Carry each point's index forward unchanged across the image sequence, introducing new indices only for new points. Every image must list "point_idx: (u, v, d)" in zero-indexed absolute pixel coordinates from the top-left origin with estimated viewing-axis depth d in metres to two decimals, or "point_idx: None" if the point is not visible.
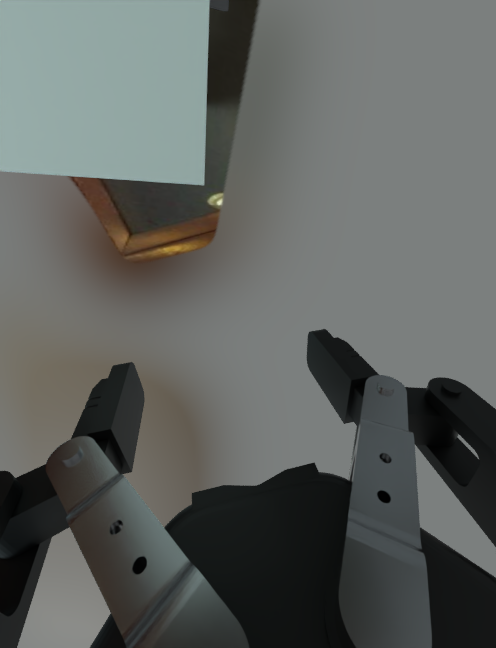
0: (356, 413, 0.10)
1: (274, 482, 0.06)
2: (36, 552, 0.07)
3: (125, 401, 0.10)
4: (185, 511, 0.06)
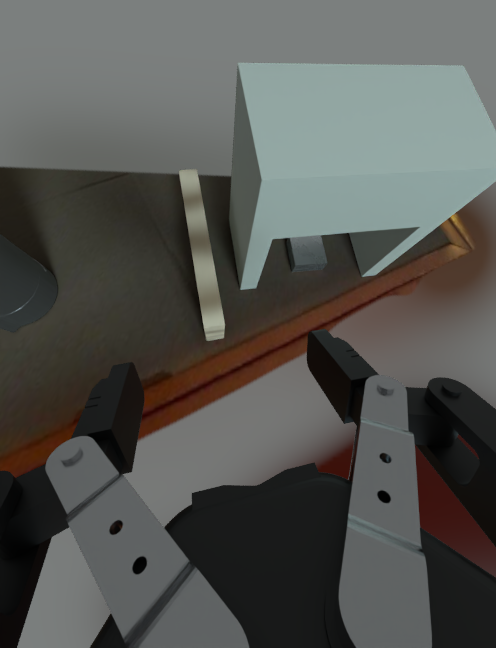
0: (356, 413, 0.10)
1: (275, 481, 0.06)
2: (36, 552, 0.07)
3: (125, 401, 0.10)
4: (185, 511, 0.06)
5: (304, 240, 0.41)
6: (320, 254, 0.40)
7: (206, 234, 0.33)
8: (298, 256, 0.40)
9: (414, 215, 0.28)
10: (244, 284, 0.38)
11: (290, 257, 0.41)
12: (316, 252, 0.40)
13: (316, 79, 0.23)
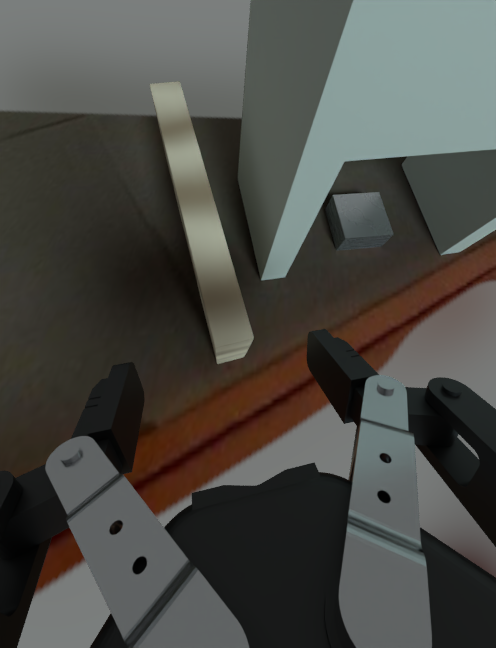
0: (356, 413, 0.10)
1: (274, 481, 0.06)
2: (36, 552, 0.07)
3: (125, 401, 0.10)
4: (185, 511, 0.06)
5: (355, 200, 0.27)
6: (382, 222, 0.26)
7: (205, 181, 0.19)
8: (348, 224, 0.26)
9: None
10: (269, 271, 0.24)
11: (334, 228, 0.27)
12: (375, 218, 0.26)
13: None
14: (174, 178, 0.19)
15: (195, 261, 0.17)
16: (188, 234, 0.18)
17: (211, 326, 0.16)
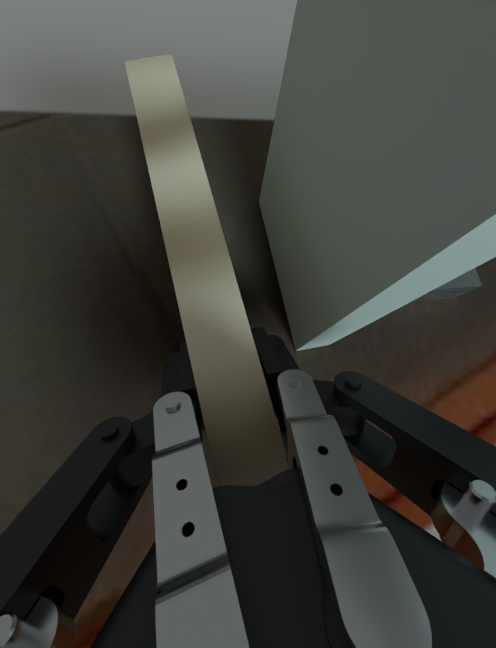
0: (276, 405, 0.10)
1: (275, 481, 0.06)
2: (133, 495, 0.08)
3: None
4: None
5: None
6: None
7: (212, 218, 0.11)
8: None
9: None
10: (312, 344, 0.16)
11: None
12: None
13: None
14: (160, 216, 0.11)
15: (196, 374, 0.09)
16: (183, 320, 0.10)
17: None
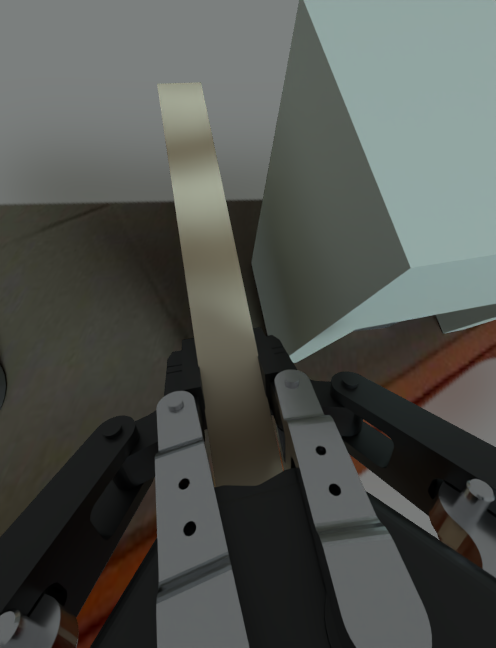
0: (273, 405, 0.10)
1: (275, 482, 0.06)
2: (136, 494, 0.08)
3: None
4: None
5: None
6: None
7: (227, 235, 0.12)
8: None
9: None
10: None
11: None
12: None
13: (468, 20, 0.11)
14: (180, 227, 0.12)
15: (202, 375, 0.10)
16: (194, 324, 0.11)
17: None
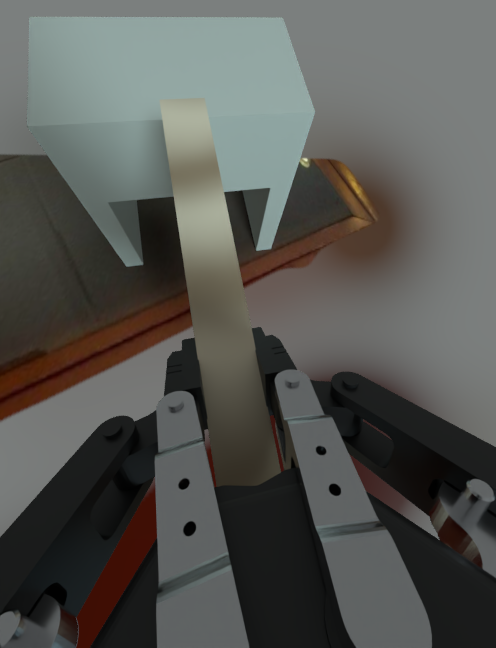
0: (273, 405, 0.10)
1: (274, 482, 0.06)
2: (136, 494, 0.08)
3: None
4: None
5: None
6: None
7: (232, 265, 0.12)
8: None
9: (250, 173, 0.27)
10: (126, 260, 0.38)
11: None
12: None
13: (113, 31, 0.23)
14: (184, 257, 0.12)
15: (208, 413, 0.10)
16: (200, 361, 0.11)
17: None
